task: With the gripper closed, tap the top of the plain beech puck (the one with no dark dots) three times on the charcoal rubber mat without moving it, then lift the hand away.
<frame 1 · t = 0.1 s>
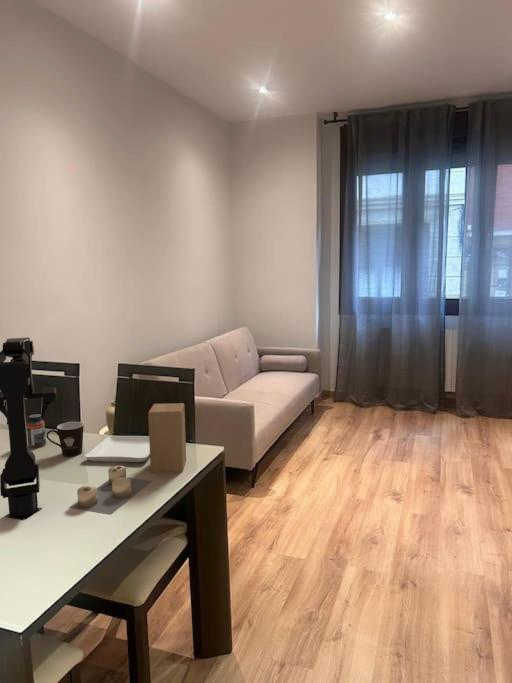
hand: (26, 420, 155), 15 cm above the table, tool pointing down, fingers open, 9 cm apart
salad plate: (126, 455, 168), on the table
coffee mug: (68, 453, 169), on the table
two dot puck: (117, 482, 144), point 1 cm above the table, touching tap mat
wooden block: (169, 468, 155), on the table
plain puck: (122, 494, 135), point 1 cm above the table, touching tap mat
supplement bottle: (37, 446, 177), on the table
one dot puck: (88, 503, 130), point 1 cm above the table, touching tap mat
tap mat: (112, 495, 136), on the table
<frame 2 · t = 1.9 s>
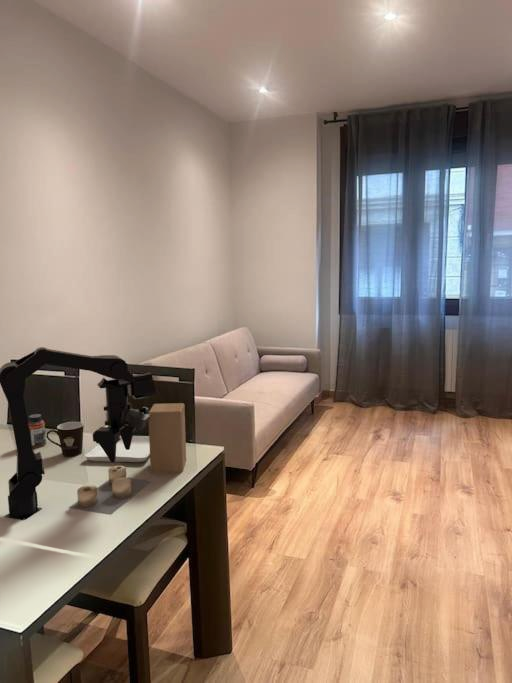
hand: (120, 455, 136), 11 cm above the table, tool pointing down, fingers open, 9 cm apart
nothing on the table moved.
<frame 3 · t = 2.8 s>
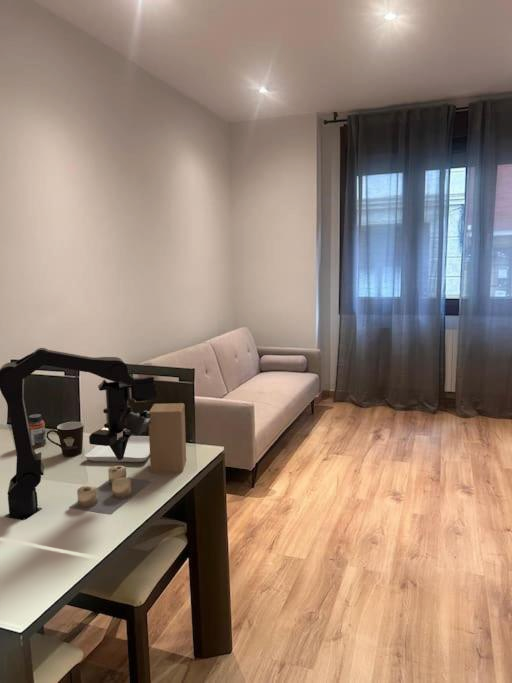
hand: (120, 459, 134), 11 cm above the table, tool pointing down, fingers closed
nothing on the table moved.
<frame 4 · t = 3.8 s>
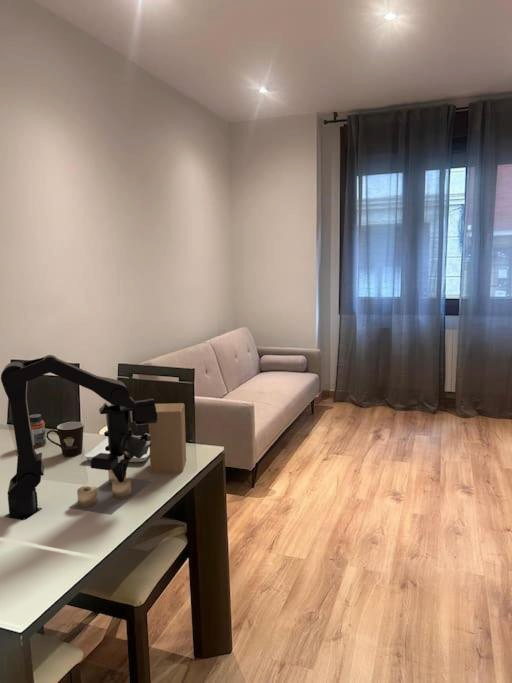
hand: (121, 481, 135), 5 cm above the table, tool pointing down, fingers closed, pressing on plain puck
plain puck: (122, 494, 135), point 1 cm above the table, touching gripper, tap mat
everything else where it was.
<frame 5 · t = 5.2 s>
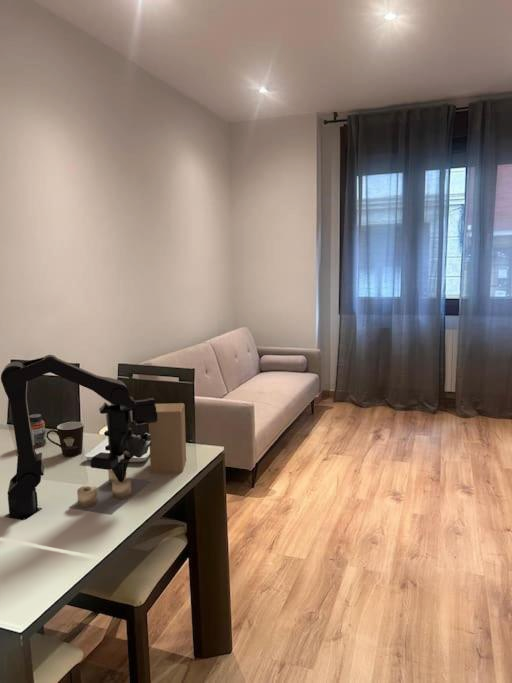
hand: (121, 480, 135), 5 cm above the table, tool pointing down, fingers closed
plain puck: (122, 494, 135), point 1 cm above the table, touching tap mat
everything else where it was.
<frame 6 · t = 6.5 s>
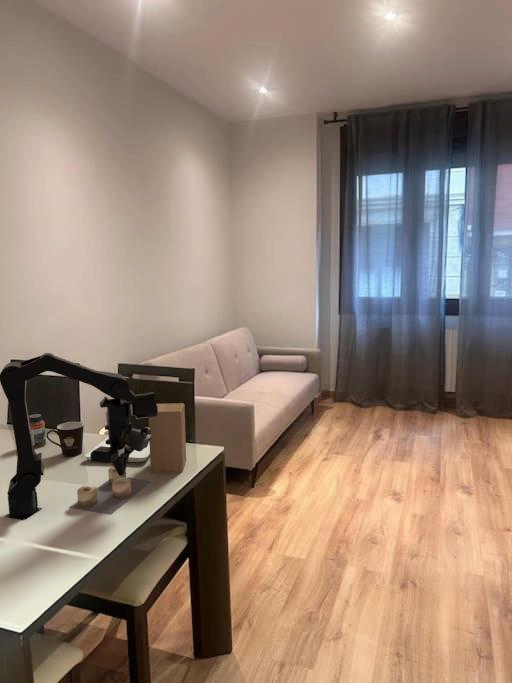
hand: (121, 475, 134), 6 cm above the table, tool pointing down, fingers closed
nothing on the table moved.
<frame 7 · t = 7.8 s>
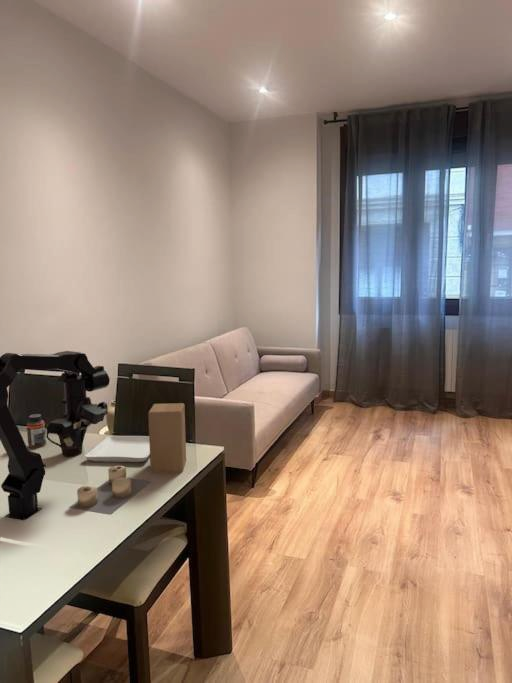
hand: (79, 447, 140), 12 cm above the table, tool pointing down, fingers closed
nothing on the table moved.
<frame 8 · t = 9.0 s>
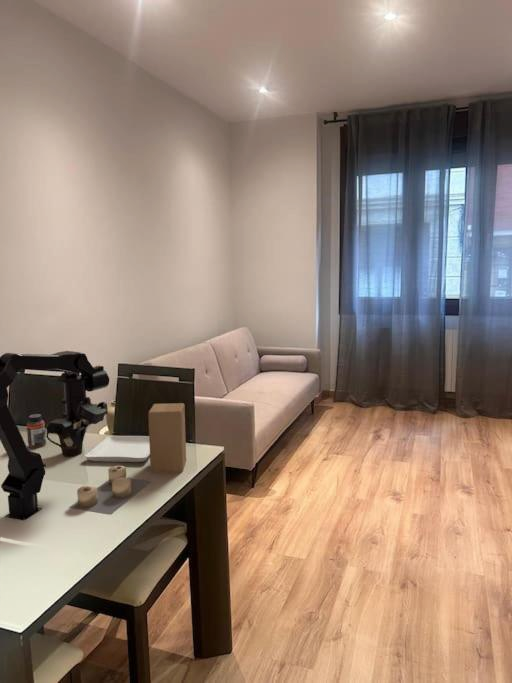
hand: (78, 447, 140), 12 cm above the table, tool pointing down, fingers closed
nothing on the table moved.
at the end: plain puck moved 0.0 cm from its start; plain puck tilted 0°; one dot puck moved 0.0 cm from its start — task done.
